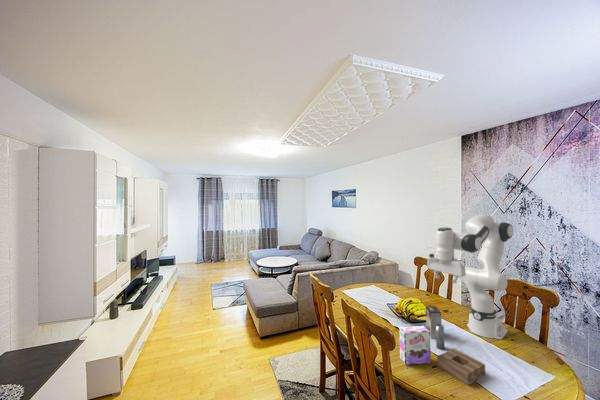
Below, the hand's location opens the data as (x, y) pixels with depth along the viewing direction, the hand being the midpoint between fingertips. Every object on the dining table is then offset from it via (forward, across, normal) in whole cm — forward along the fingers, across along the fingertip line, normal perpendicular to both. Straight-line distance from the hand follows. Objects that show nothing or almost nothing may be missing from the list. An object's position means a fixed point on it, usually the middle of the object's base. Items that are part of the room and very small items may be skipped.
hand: (445, 280), depth 133 cm
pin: (+37, +1, +4) cm, 37 cm away
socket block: (+37, -15, +13) cm, 42 cm away
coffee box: (+37, +11, -5) cm, 39 cm away
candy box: (+38, 0, +26) cm, 46 cm away
